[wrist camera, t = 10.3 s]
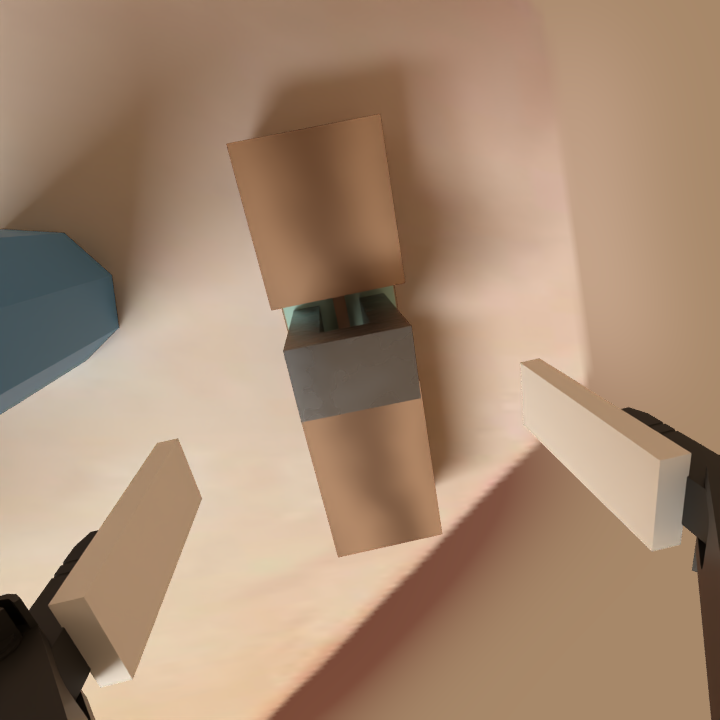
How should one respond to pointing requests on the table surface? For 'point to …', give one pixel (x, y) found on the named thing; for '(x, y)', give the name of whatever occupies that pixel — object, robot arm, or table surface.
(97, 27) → the table surface
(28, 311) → the water bottle
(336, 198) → the rail
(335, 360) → the clip
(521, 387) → the robot arm
